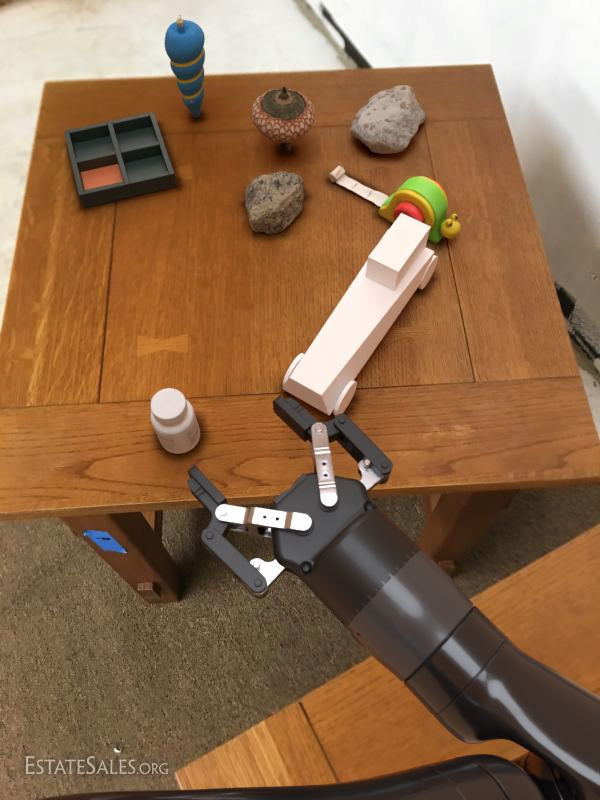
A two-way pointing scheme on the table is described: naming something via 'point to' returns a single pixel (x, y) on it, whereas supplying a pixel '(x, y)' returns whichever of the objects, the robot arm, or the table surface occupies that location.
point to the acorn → (283, 116)
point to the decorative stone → (388, 120)
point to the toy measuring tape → (409, 203)
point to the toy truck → (363, 317)
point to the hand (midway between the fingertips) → (234, 436)
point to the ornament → (187, 61)
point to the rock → (274, 201)
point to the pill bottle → (174, 421)
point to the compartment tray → (119, 159)
